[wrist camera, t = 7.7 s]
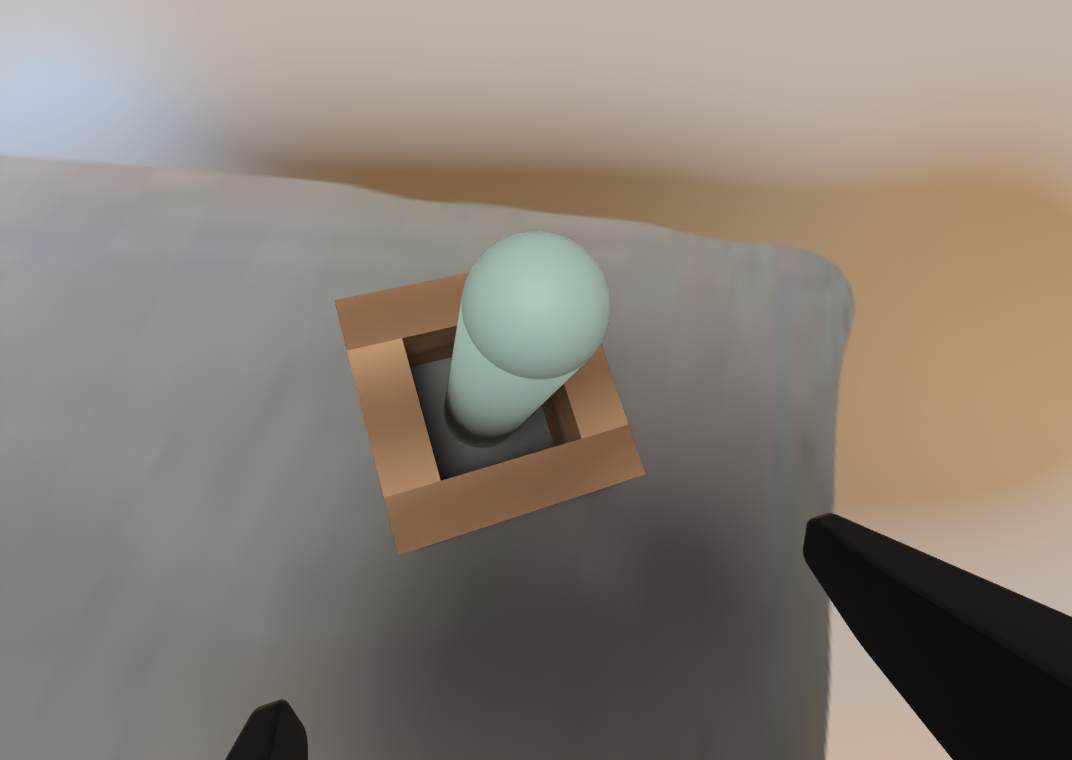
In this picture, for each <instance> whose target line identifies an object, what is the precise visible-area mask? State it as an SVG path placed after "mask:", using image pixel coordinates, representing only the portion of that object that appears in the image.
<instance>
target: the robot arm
mask: <svg viewBox="0 0 1072 760" xmlns="http://www.w3.org/2000/svg"><path fill="white" fill-rule="evenodd" d="M803 555H804V558H805V561H806V563H807V564H808V566H809V568H810V569H811V571H812V572H813V574H814V575H815V577H816V578H817V580H818V581H819V583H820V584H821V586H822V587H823V589H824V590H825V592H826V593H827V595H828V596H829V598H830V599H831V601H832V603H833V604H834V606H835V607H836V608H837V610H838V612H839V613H840V614H841V616H842V618H843V619H844V621H845V622H846V624H847V625H848V627H849V628H850V630H851V631H852V633H853V634H854V635H855V637H856V638H857V640H858V641H859V642H860V643H861V645H862V646H863V648H864V649H865V650H866V652H867V653H868V654H869V656H870V657H871V658H872V659H873V661H874V662H875V663H876V664H877V666H878V667H879V668H880V669H881V671H882V672H883V673H884V674H885V676H886V677H887V678H888V679H889V681H890V682H891V683H892V684H893V686H894V687H895V688H896V689H897V691H898V692H899V693H900V694H901V696H902V697H903V698H904V699H905V701H906V702H907V703H908V704H909V706H910V707H911V708H912V709H913V711H914V712H915V713H916V714H917V716H918V717H919V718H920V719H921V720H922V722H923V723H924V724H925V725H926V727H927V728H928V729H929V731H930V732H931V733H932V734H933V735H934V737H935V738H936V739H937V741H938V742H939V743H940V744H941V746H942V747H943V748H944V749H945V750H946V752H947V753H948V754H949V756H950V757H951V758H952V759H953V760H1072V617H1071V616H1068V615H1066V614H1064V613H1062V612H1059V611H1057V610H1055V609H1052V608H1050V607H1048V606H1046V605H1043V604H1041V603H1038V602H1036V601H1034V600H1032V599H1029V598H1027V597H1025V596H1023V595H1020V594H1018V593H1015V592H1013V591H1011V590H1009V589H1006V588H1004V587H1002V586H1000V585H997V584H995V583H993V582H990V581H988V580H986V579H983V578H981V577H979V576H977V575H974V574H972V573H970V572H967V571H965V570H962V569H960V568H958V567H956V566H954V565H951V564H949V563H947V562H944V561H942V560H940V559H937V558H935V557H933V556H930V555H928V554H926V553H924V552H921V551H919V550H917V549H914V548H912V547H910V546H907V545H905V544H903V543H901V542H898V541H896V540H894V539H891V538H889V537H887V536H885V535H882V534H880V533H877V532H875V531H873V530H871V529H868V528H866V527H864V526H862V525H859V524H857V523H854V522H852V521H850V520H848V519H845V518H843V517H840V516H839V515H836V514H832V513H826V514H823V515H820V516H817V517H814V518H811V519H810V520H809V521H808V522H807V526H806V533H805V539H804V546H803ZM225 760H308V743H307V735H306V731H305V728H304V726H303V724H302V723H301V721H300V720H299V718H298V717H297V715H296V714H295V712H294V711H293V709H292V708H291V706H290V705H289V703H288V702H287V701H285V700H283V699H281V700H277V701H274V702H271V703H268V704H265V705H263V706H260V707H258V708H257V709H255V710H254V711H253V713H252V714H251V715H250V717H249V719H248V721H247V722H246V724H245V726H244V728H243V729H242V731H241V733H240V735H239V736H238V738H237V740H236V742H235V743H234V745H233V747H232V749H231V750H230V752H229V754H228V756H227V757H226V759H225Z"/></svg>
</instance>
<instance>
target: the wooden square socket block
mask: <svg viewBox="0 0 1072 760" xmlns="http://www.w3.org/2000/svg"><path fill="white" fill-rule="evenodd" d="M468 274H469V273H467V274H462V275H457V276H452V277H447V278H442V279H437V280H432V281H427V282H422V283H418V284H413V285H408V286H403V287H398V288H393V289H388V290H383V291H378V292H373V293H368V294H363V295H359V296H354V297H349V298H344V299H339V300H334V301H335V305H336V309H337V313H338V316H339V320H340V324H341V328H342V332H343V336H344V340H345V344H346V348H347V352H348V356H349V360H350V364H351V368H352V372H353V376H354V380H355V384H356V388H357V392H358V396H359V400H360V404H361V408H362V412H363V416H364V420H365V424H366V428H367V432H368V436H369V440H370V444H371V448H372V452H373V456H374V460H375V464H376V468H377V472H378V476H379V480H380V484H381V488H382V492H383V496H384V500H385V504H386V508H387V512H388V516H389V520H390V524H391V528H392V532H393V536H394V540H395V544H396V548H397V552H398V556H399V555H402V554H405V553H408V552H411V551H414V550H417V549H420V548H423V547H426V546H429V545H432V544H435V543H438V542H441V541H444V540H447V539H450V538H453V537H456V536H459V535H463V534H466V533H469V532H472V531H475V530H478V529H481V528H484V527H487V526H490V525H493V524H496V523H499V522H502V521H505V520H508V519H511V518H514V517H517V516H520V515H523V514H526V513H530V512H533V511H536V510H539V509H542V508H545V507H548V506H551V505H554V504H557V503H560V502H563V501H566V500H569V499H572V498H575V497H578V496H581V495H584V494H587V493H590V492H593V491H596V490H600V489H603V488H606V487H609V486H612V485H615V484H618V483H621V482H624V481H627V480H630V479H633V478H636V477H639V476H642V475H645V471H644V468H643V465H642V462H641V459H640V456H639V453H638V450H637V447H636V444H635V442H634V439H633V436H632V433H631V430H630V427H629V424H628V421H627V418H626V415H625V412H624V409H623V406H622V403H621V400H620V398H619V395H618V392H617V389H616V386H615V383H614V380H613V377H612V374H611V371H610V368H609V365H608V362H607V359H606V357H605V354H604V351H603V348H602V345H601V344H600V345H599V347H598V348H597V350H596V351H595V353H594V354H593V355H592V356H591V357H590V358H589V359H588V361H587V362H586V363H585V364H583V365H582V366H581V367H580V368H579V369H578V370H577V371H576V372H575V373H574V374H573V375H572V376H571V377H570V378H569V379H568V380H567V381H566V382H565V383H564V384H563V385H562V386H561V387H560V388H559V389H557V390H556V391H555V392H554V393H553V394H552V395H551V396H550V397H549V398H548V399H547V400H546V401H545V402H544V403H543V404H542V407H543V410H544V413H545V416H546V419H547V423H548V426H549V429H550V432H551V435H552V439H553V442H554V445H555V447H552V448H549V449H545V450H542V451H539V452H535V453H532V454H529V455H525V456H522V457H519V458H515V459H512V460H509V461H505V462H502V463H499V464H495V465H492V466H489V467H485V468H482V469H479V470H475V471H472V472H469V473H465V474H462V475H459V476H455V477H452V478H449V479H445V480H442V481H441V480H440V476H439V473H438V469H437V465H436V462H435V458H434V454H433V451H432V447H431V443H430V440H429V436H428V432H427V428H426V425H425V421H424V417H423V414H422V410H421V406H420V403H419V399H418V395H417V392H416V388H415V384H414V381H413V377H412V373H411V369H410V367H411V366H415V365H419V364H423V363H427V362H432V361H436V360H440V359H444V358H448V357H452V355H453V349H454V343H455V336H456V330H457V324H458V318H459V311H460V305H461V299H462V293H463V289H464V285H465V282H466V279H467V277H468Z"/></svg>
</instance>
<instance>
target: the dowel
mask: <svg viewBox="0 0 1072 760" xmlns="http://www.w3.org/2000/svg"><path fill="white" fill-rule="evenodd" d="M609 317H610V295H609V290H608V286H607V283H606V280H605V278H604V275H603V273H602V271H601V269H600V267H599V266H598V264H597V263H596V261H595V260H594V259H593V258H592V257H591V255H590V254H589V253H588V252H587V251H586V250H584V249H583V248H582V247H581V246H579V245H578V244H577V243H575V242H573V241H571V240H570V239H568V238H565V237H563V236H561V235H557V234H554V233H549V232H542V231H531V232H523V233H518V234H514V235H511V236H508V237H506V238H504V239H502V240H500V241H498V242H497V243H495V244H494V245H492V246H491V247H490V248H488V249H487V250H486V251H485V252H484V253H483V254H482V255H481V256H480V257H479V259H478V260H477V261H476V262H475V264H474V265H473V267H472V269H471V270H470V272H469V274H468V277H467V279H466V282H465V285H464V289H463V293H462V299H461V305H460V311H459V318H458V324H457V330H456V336H455V343H454V349H453V355H452V361H451V368H450V374H449V380H448V387H447V393H446V399H445V406H444V415H445V420H446V423H447V426H448V428H449V429H450V431H451V432H452V434H453V435H454V436H455V437H456V438H457V439H458V440H460V441H461V442H463V443H465V444H467V445H469V446H473V447H479V448H485V447H491V446H494V445H497V444H499V443H501V442H502V441H504V440H505V439H506V438H508V437H509V436H510V435H511V434H512V433H513V432H514V431H515V430H516V429H517V428H518V427H519V426H520V425H521V424H522V423H523V422H524V421H525V420H526V419H527V418H528V417H529V416H530V415H532V414H533V413H534V412H535V411H536V410H537V409H538V408H539V407H540V406H541V405H542V404H543V403H544V402H545V401H546V400H547V399H548V398H549V397H550V396H551V395H552V394H553V393H554V392H555V391H556V390H557V389H559V388H560V387H561V386H562V385H563V384H564V383H565V382H566V381H567V380H568V379H569V378H570V377H571V376H572V375H573V374H574V373H575V372H576V371H577V370H578V369H579V368H580V367H581V366H582V365H583V364H585V363H586V362H587V361H588V359H589V358H590V357H591V356H592V355H593V354H594V353H595V351H596V350H597V348H598V347H599V345H600V344H601V342H602V340H603V338H604V335H605V332H606V329H607V326H608V323H609Z"/></svg>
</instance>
